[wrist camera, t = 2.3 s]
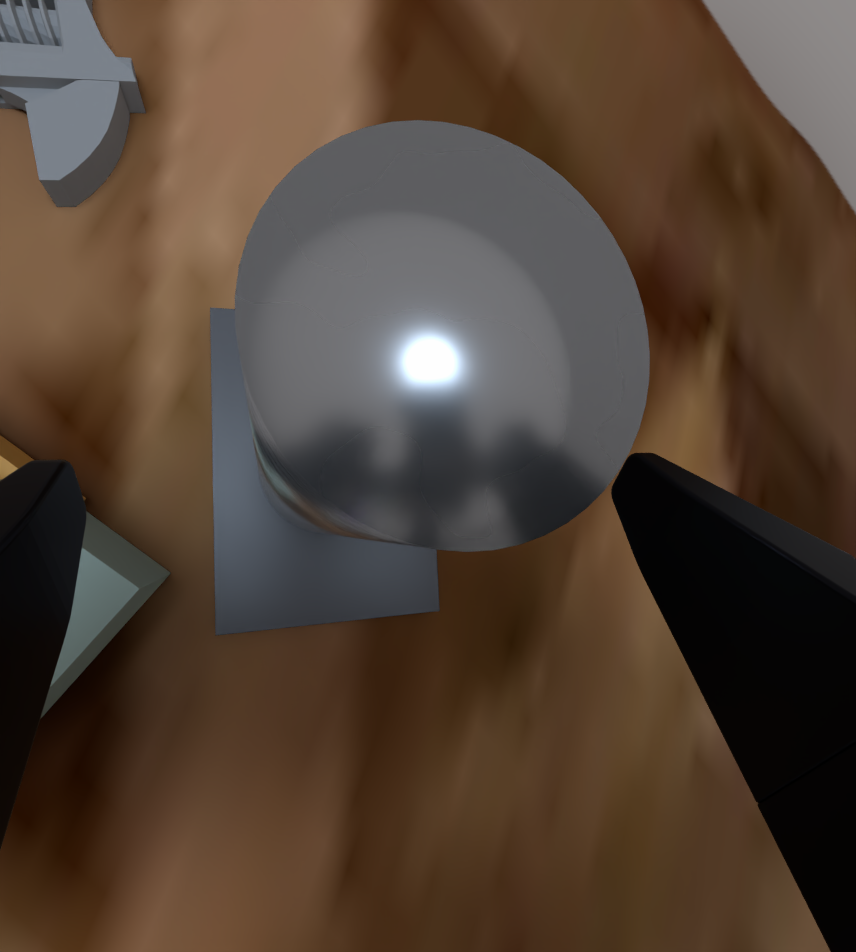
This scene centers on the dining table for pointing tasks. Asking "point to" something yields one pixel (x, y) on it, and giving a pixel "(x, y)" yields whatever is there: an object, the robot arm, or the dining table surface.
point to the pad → (290, 535)
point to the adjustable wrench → (66, 93)
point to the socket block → (95, 589)
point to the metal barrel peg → (436, 342)
